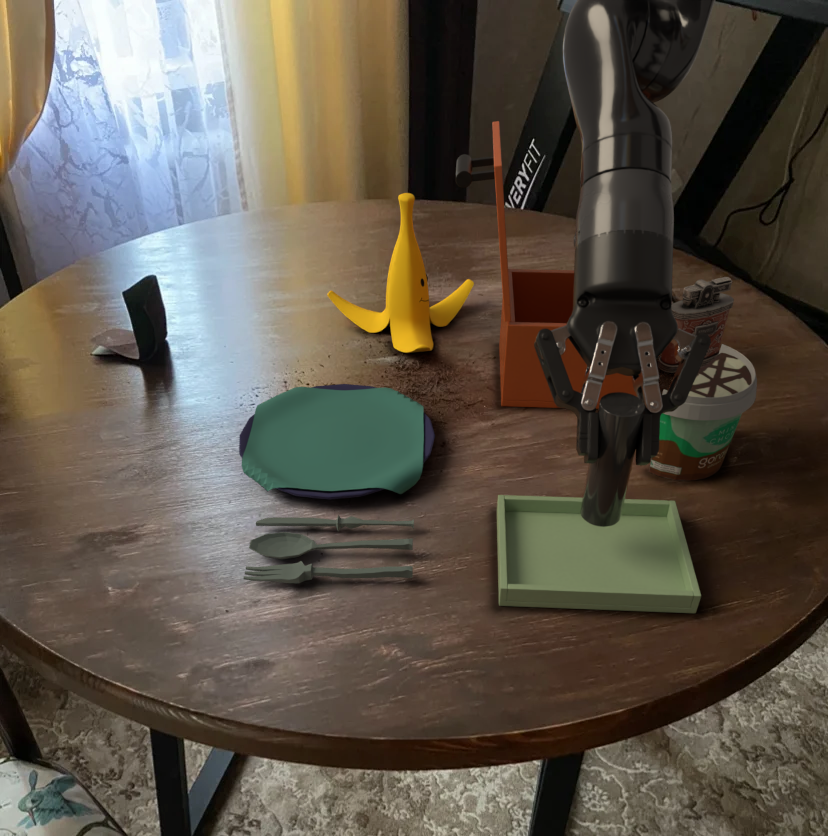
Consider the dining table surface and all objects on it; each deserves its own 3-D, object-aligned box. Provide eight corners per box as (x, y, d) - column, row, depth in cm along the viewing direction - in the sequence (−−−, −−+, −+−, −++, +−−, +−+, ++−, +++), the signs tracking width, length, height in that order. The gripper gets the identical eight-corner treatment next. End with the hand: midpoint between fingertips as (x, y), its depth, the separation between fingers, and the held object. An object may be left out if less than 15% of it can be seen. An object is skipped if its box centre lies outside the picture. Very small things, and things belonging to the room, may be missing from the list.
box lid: (499, 120, 86) (455, 126, 86) (501, 165, 75) (452, 171, 76) (507, 264, 96) (468, 268, 96) (511, 321, 85) (467, 325, 86)
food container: (697, 505, 79) (723, 417, 73) (640, 479, 82) (660, 391, 76) (756, 449, 86) (784, 363, 79) (701, 426, 89) (724, 341, 83)
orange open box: (619, 348, 102) (633, 271, 95) (635, 410, 92) (651, 328, 85) (499, 345, 102) (504, 268, 96) (501, 406, 92) (507, 325, 86)
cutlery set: (434, 398, 94) (434, 380, 92) (435, 590, 71) (436, 570, 70) (257, 397, 94) (254, 380, 92) (202, 588, 71) (197, 568, 70)
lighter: (669, 375, 97) (687, 294, 90) (651, 362, 99) (668, 282, 93) (724, 361, 99) (746, 281, 93) (706, 348, 102) (726, 269, 95)
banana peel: (474, 303, 111) (480, 172, 100) (426, 374, 97) (427, 232, 86) (359, 285, 115) (352, 157, 104) (298, 350, 102) (283, 212, 91)
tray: (670, 517, 78) (675, 500, 77) (695, 613, 69) (701, 595, 68) (496, 511, 79) (497, 494, 77) (498, 606, 70) (500, 588, 68)
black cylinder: (618, 501, 72) (641, 392, 65) (623, 527, 70) (648, 417, 62) (578, 500, 72) (597, 391, 65) (582, 526, 70) (602, 415, 63)
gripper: (538, 223, 62) (530, 452, 62) (730, 228, 62) (725, 459, 61) (528, 261, 70) (521, 466, 69) (699, 266, 69) (694, 472, 68)
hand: (617, 462), depth 65 cm, fingers closed on black cylinder, 3 cm apart
